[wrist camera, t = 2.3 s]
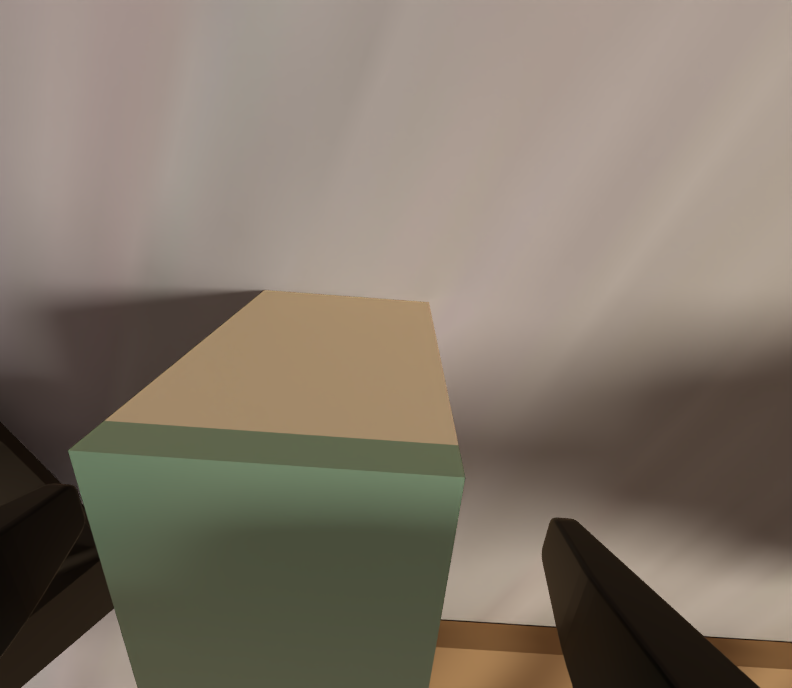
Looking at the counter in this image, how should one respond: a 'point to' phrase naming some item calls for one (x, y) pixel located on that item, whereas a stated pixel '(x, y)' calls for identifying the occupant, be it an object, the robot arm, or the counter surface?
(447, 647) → the board
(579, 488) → the counter surface
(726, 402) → the counter surface
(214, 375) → the block
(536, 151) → the counter surface
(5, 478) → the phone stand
